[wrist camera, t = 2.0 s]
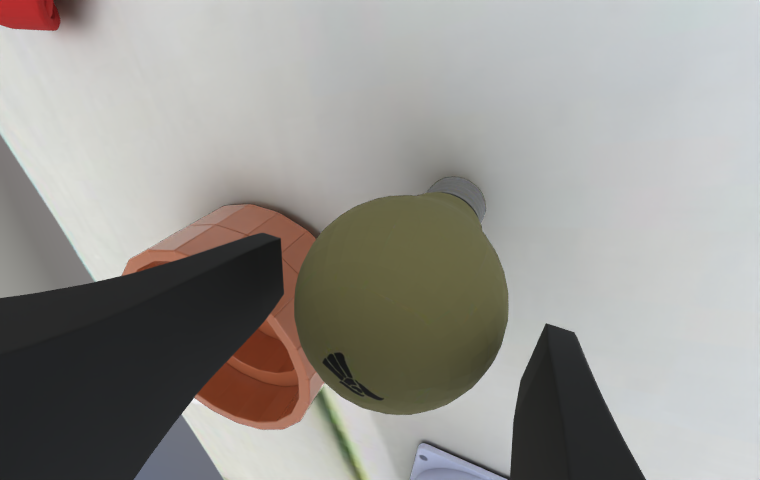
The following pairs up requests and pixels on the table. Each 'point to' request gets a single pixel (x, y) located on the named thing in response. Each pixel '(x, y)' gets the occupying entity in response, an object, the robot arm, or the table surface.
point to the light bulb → (404, 300)
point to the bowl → (271, 340)
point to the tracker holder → (29, 14)
